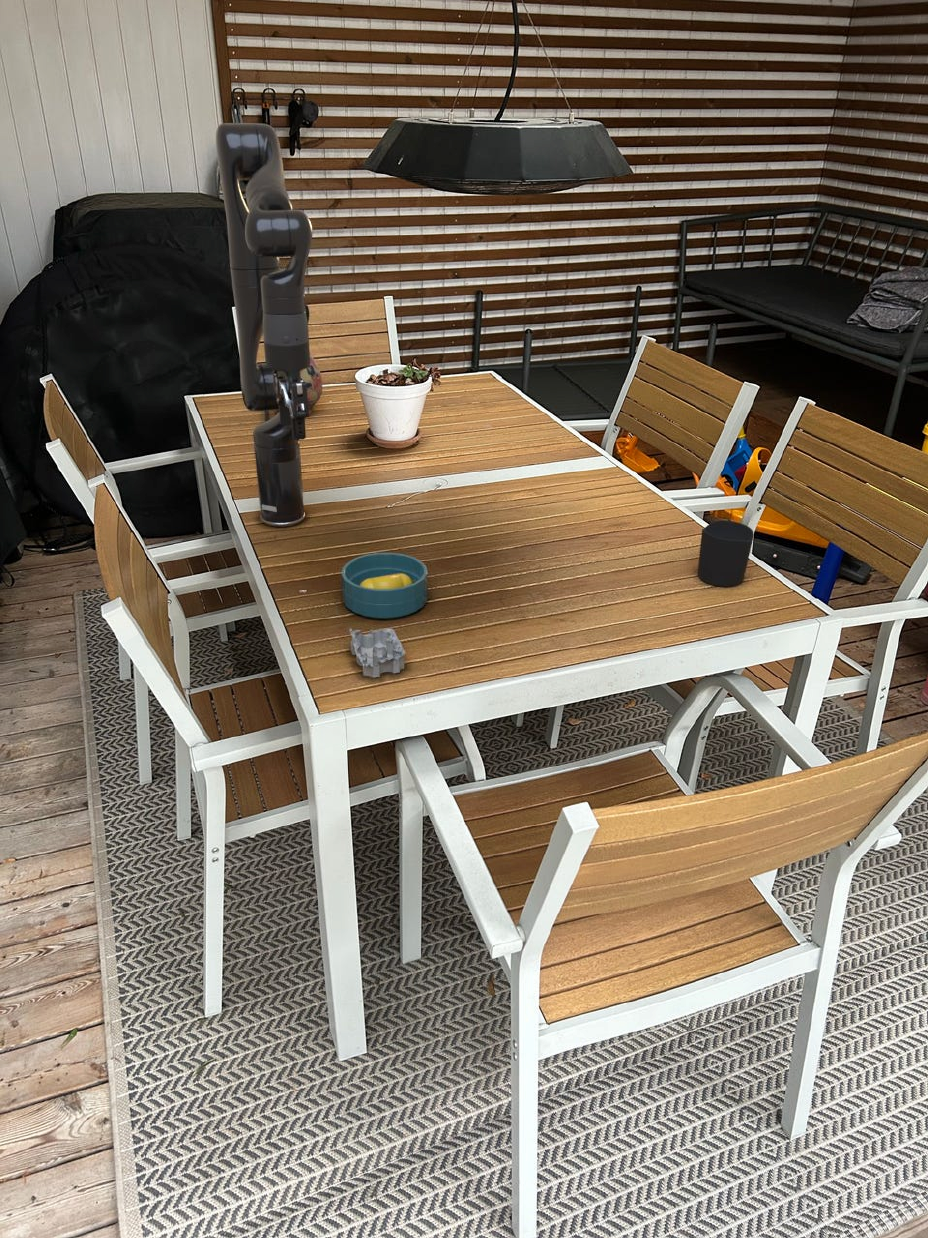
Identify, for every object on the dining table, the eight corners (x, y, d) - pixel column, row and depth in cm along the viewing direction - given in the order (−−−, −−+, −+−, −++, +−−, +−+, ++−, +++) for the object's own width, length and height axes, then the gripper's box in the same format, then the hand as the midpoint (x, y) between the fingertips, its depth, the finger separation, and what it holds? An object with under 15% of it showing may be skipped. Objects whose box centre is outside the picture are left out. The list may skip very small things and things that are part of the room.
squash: (362, 609, 169) (363, 590, 166) (354, 594, 172) (355, 575, 169) (419, 599, 173) (421, 580, 170) (411, 584, 176) (412, 565, 173)
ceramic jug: (300, 424, 260) (293, 312, 245) (257, 415, 267) (247, 304, 252) (338, 409, 273) (333, 301, 258) (296, 400, 280) (289, 295, 265)
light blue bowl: (327, 596, 173) (325, 566, 170) (395, 574, 182) (395, 545, 179) (373, 629, 163) (372, 598, 160) (443, 604, 171) (444, 574, 168)
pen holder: (753, 586, 180) (762, 538, 175) (707, 590, 178) (715, 542, 173) (731, 565, 188) (740, 518, 183) (687, 568, 186) (694, 521, 181)
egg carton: (347, 648, 158) (346, 626, 156) (391, 641, 160) (391, 620, 158) (362, 681, 149) (361, 658, 147) (408, 673, 151) (408, 651, 149)
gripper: (319, 346, 155) (325, 441, 163) (296, 327, 166) (302, 417, 174) (274, 350, 152) (282, 446, 160) (254, 330, 164) (262, 422, 172)
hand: (292, 431), depth 167 cm, fingers open, 8 cm apart
